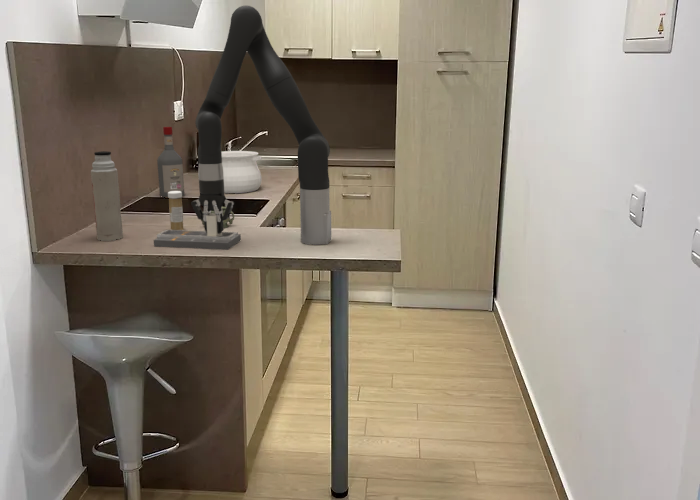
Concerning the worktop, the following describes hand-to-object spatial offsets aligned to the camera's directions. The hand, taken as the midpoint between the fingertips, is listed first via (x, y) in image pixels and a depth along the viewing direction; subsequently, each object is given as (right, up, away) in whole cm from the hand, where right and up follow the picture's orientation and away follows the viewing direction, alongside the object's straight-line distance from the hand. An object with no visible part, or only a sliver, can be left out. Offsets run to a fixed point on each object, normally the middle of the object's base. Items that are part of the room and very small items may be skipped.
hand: (214, 232), depth 214 cm
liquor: (-35, +17, +85) cm, 93 cm away
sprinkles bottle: (-16, +1, +19) cm, 26 cm away
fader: (0, -1, 0) cm, 1 cm away
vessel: (-4, +3, +26) cm, 27 cm away
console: (-5, -3, +2) cm, 7 cm away
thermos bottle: (-36, -2, +9) cm, 37 cm away
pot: (-11, +22, +102) cm, 105 cm away
